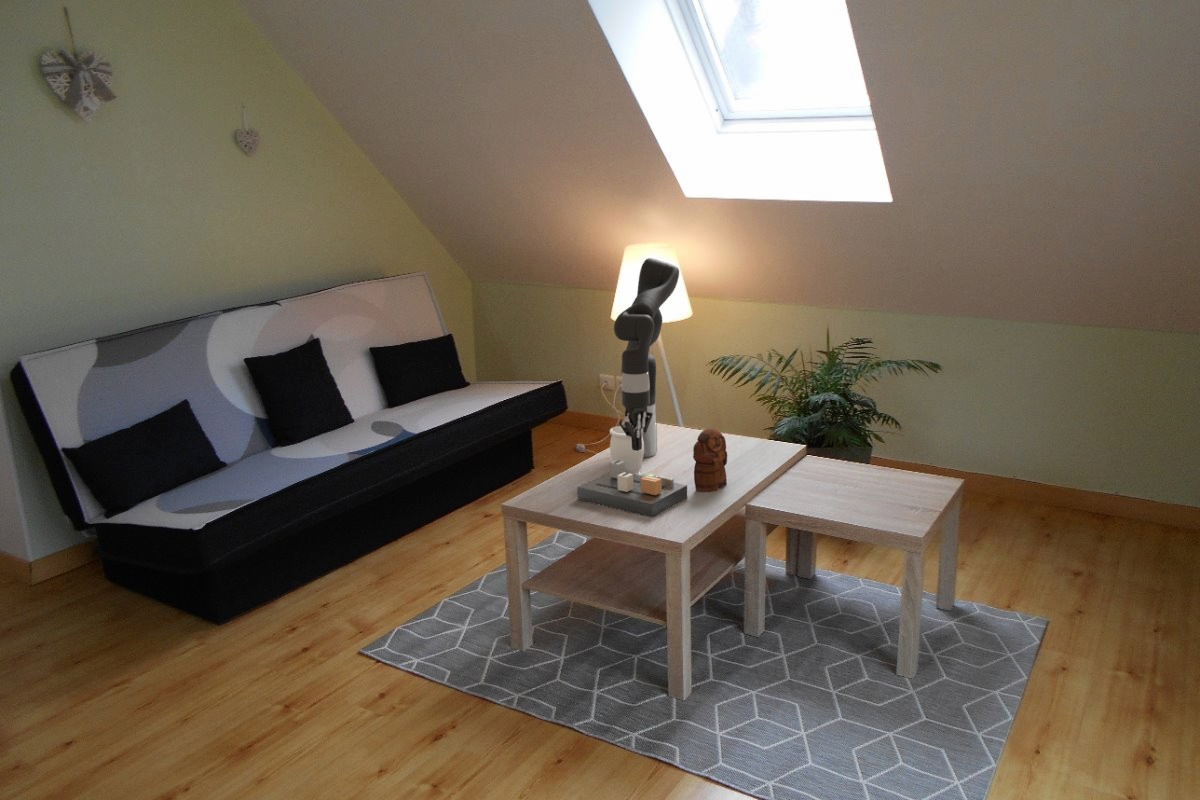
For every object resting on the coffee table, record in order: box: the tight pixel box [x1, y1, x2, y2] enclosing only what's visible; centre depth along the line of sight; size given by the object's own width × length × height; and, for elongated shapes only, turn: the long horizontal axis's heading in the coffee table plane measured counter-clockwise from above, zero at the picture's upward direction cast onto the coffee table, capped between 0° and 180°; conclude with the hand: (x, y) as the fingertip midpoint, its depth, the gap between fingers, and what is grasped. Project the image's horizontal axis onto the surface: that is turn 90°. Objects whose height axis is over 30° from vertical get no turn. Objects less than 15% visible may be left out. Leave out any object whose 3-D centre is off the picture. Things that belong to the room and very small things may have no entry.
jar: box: [609, 425, 644, 476], centre depth 308 cm, size 11×10×15 cm
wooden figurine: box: [692, 427, 728, 493], centre depth 296 cm, size 12×6×18 cm, turn 141°
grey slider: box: [609, 460, 625, 479], centre depth 296 cm, size 3×3×5 cm
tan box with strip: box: [641, 476, 662, 495], centre depth 282 cm, size 3×5×4 cm, turn 53°
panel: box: [576, 471, 688, 518], centre depth 289 cm, size 18×26×6 cm
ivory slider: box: [617, 472, 633, 492], centre depth 285 cm, size 3×3×5 cm
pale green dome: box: [641, 472, 657, 478], centre depth 291 cm, size 4×4×2 cm
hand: (636, 449), depth 274 cm, fingers closed
